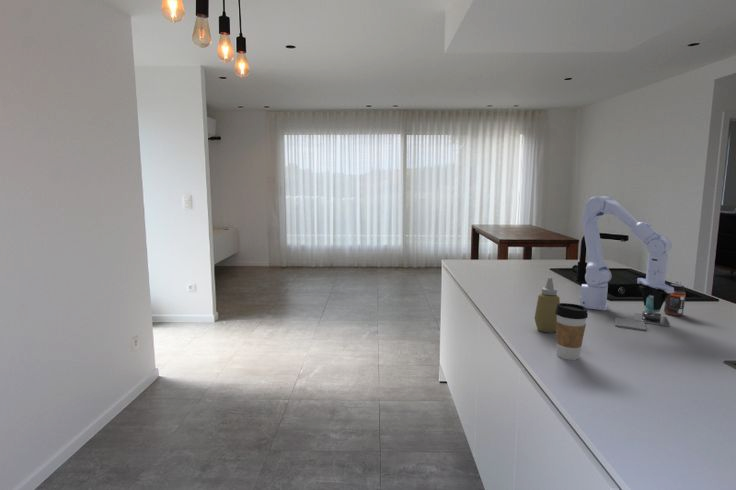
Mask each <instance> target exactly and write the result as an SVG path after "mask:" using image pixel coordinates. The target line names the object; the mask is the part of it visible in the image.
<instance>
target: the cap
mask: <svg viewBox="0 0 736 490" xmlns="http://www.w3.org/2000/svg"><path fill="white" fill-rule="evenodd" d="M643 308H644V309H643V310H644V311H651V312H657V313H661V309H660V310H655V309H654V297H653V296H652V295H649V297H647V299H646V306H644V307H643Z"/></svg>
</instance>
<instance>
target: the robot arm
mask: <svg viewBox="0 0 736 490" xmlns="http://www.w3.org/2000/svg"><path fill="white" fill-rule="evenodd" d="M584 206H585V207H584V210H583V214H582V216H581V224H582V229H583V231H582V232H583V236H584V242H585V248H586V254H587V260H588V263H587V264H586V267H585V274H584V280H585V282H586V283H582V284H581V288H580V296H579V302H580V303H579V305H581V306H584V307H586V308H587V309H589V310H592V309H593V310H597V311H598V310H599V311H605V312H607V311H608V304H607V299H608V288H609V284H608V283H609V282H610V281H611V280H612V272H611V270H610V269H609V266H608V263H607V262H606V261H605V260H604V253H603V248H602V243H601V242H602V241H601V235H600V229H599V223H598V221H599V220H600V219H601V218H602V217H603V216H604V215H606V214H608V215H613V216H614V217H616V218H617V219H618V220H619V221H621V222H622V223H623V224H625V225H626V226H627V227H628V228H630V232H631V234H632V235H633V236H634V237H635V238H636V239H637V240H639V242H641V243H642V244H643V245H644V246H646V247H645V248H646V250H647V251H648V257H647V267H646V275H645V278H643V277H637V279H636V281H637V282H636V283H637V284H638V285H639V286H638V289H639V291H640V293H641V297H642V300H643V301H642V302H643V306H644V307H646V299H647V297H649V295H652V296H653V297H654V309H655V310H660V311H661V308H662V307H663V304H665V299H666V298H667V297H668V296H669V295H670V293H674V288H673V287H671V285H668V284H666V283H665V282H666V274H667V266H668V261H669V260H668V254H669V251H670V250H671V249H672V241H671V240H670V239H669V237H667V236H662V235H663V234H662V233H660V232H657V231H656V230H655V229H654V228H652V227H651V226H652V225H651V223H649V222H645V221H638V220H637V219H636V218H635V217H634V216H633V215H632V214H631V213H630V212H628V210H626V209H625V208H624V207H623V206H622V204H620V203H619V202H618V201H617V200H615V199H613V197H612V196H609V195H602V196H601V195H600V196H599V195H598V196H597V195H596V196H595V195H594V196H591V197H590V198H589V199H588V200H587V201H585V203H584ZM640 284H641V285H640Z"/></svg>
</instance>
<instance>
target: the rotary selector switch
mask: <svg viewBox="0 0 736 490" xmlns="http://www.w3.org/2000/svg"><path fill="white" fill-rule="evenodd" d="M633 315H634V319H635V320H636V321H643V322H644V323H645V324H650V325H657V326H664V327H670V323H669V321H668V317H667V316H663V315H662V314H661V312H651V311H647V310H644V311H642V312H634V314H633Z"/></svg>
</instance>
